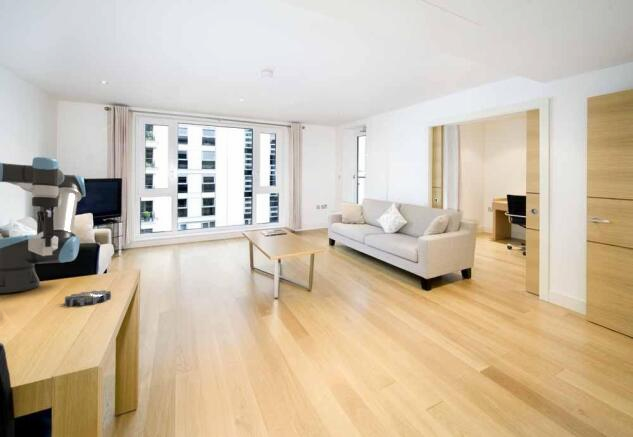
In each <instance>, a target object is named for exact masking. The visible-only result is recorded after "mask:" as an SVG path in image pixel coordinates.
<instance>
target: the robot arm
mask: <svg viewBox="0 0 633 437" xmlns="http://www.w3.org/2000/svg"><path fill="white" fill-rule="evenodd" d="M59 168H60V166H59V161H58V160H57V159H55V158H51V157H44V156H43V157H42V156H41V157H40V156H37V157H33V158H32V164H31V165H30V164H28V165H27V164H16V163H7V162H6V163H3V162H0V183H8V184H11V185H14V186H18V187H20V188H21V189H22V190H23V191H26V192H28V193H29V192H30V193H32V194H31V195H32V197H31V207H33V208H34V207H36V208H39V210H38V211H37V212H36V214H37V224H36V234H27V235H18V236H16V235H15V236H10V237H9V236H8V237H2V238H0V294H5V293H7V294H9V293H16V292H17V293H18V292H23V291H28V290H33V289H37V288H39V287H40V282H41V281H40V278H39V276H38V275H37V273H36V270H35V265H37V264H52V263H53V264H55V263H67V262H72V261H75V260H76V258H77V256H78V254H79V250H80V242H81V241H80V238H79V236H77V235H76V233H75V232H74V226H75V219H76V213H77V206H78V202H80V201H81V200H82V198H84V197H86V194H87V193H86V187H85V179H84V177H83V176H81V175H75V174H64V172H63V171H62V170H60V169H59ZM52 208H53V210H52ZM41 232H43V237H41V239H42V255H39V254H37V253H34V252H32V251H29V250H28V239H29V238H31V237H33V236H35V235H37V234H39V233H41ZM54 236H56V237H58V248H57V249H56V250H54V251H52V238H53V237H54Z"/></svg>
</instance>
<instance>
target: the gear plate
mask: <svg viewBox="0 0 633 437" xmlns="http://www.w3.org/2000/svg"><path fill="white" fill-rule="evenodd" d="M111 299H112V292H111V290H107V291H106V290H105V289H103V290H92V291H81V292H79V293H72V294H70V295H66V296H65V298H64V306H69V307H75V306H80V307H85V306H87V305H88V306H89V305H93V306H94V305H97V304H99V303H106V302H107V300H111Z"/></svg>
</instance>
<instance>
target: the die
mask: <svg viewBox="0 0 633 437" xmlns="http://www.w3.org/2000/svg"><path fill="white" fill-rule="evenodd" d="M34 235H35V236H33V237H31V238H29V239H28V250H29V251H32V252H34V253H37V254H39V255H42V239H41V237H43V232H41V233H39V234H37V233H36V234H34ZM57 248H58V237H56V236H54V237H53V238H52V251H54V250H56V249H57Z"/></svg>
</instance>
